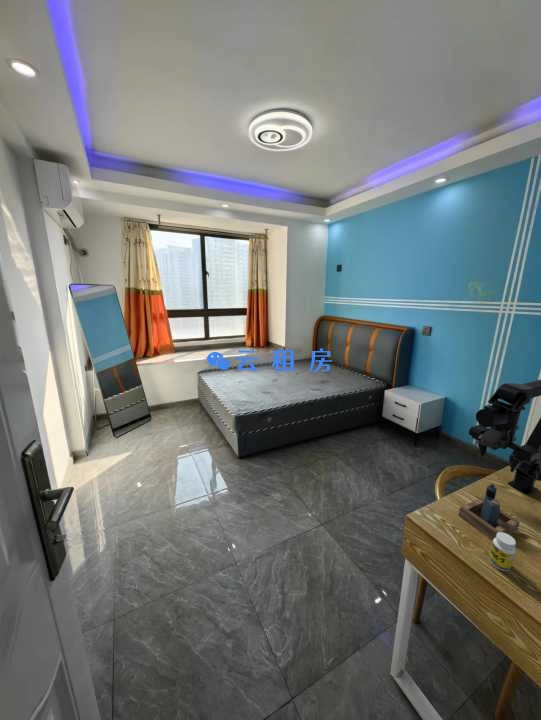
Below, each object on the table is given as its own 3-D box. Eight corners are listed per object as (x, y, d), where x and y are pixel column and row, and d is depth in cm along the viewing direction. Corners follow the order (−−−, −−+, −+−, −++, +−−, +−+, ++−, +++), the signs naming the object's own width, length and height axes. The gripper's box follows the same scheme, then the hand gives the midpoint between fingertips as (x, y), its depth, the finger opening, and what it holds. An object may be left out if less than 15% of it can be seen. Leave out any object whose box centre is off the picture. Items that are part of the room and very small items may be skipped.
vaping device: (487, 514, 93) (494, 482, 90) (497, 527, 88) (505, 494, 85) (478, 513, 93) (485, 482, 90) (488, 527, 88) (496, 494, 85)
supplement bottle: (484, 558, 79) (490, 533, 77) (495, 552, 81) (502, 528, 78) (503, 574, 75) (510, 548, 72) (515, 568, 76) (522, 542, 74)
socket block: (480, 505, 98) (481, 497, 97) (517, 529, 88) (519, 521, 87) (458, 515, 94) (459, 507, 93) (495, 542, 84) (497, 533, 83)
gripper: (461, 415, 100) (454, 454, 104) (525, 441, 83) (513, 487, 87) (482, 409, 104) (474, 448, 108) (546, 433, 87) (534, 477, 92)
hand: (496, 463), depth 99 cm, fingers open, 9 cm apart
